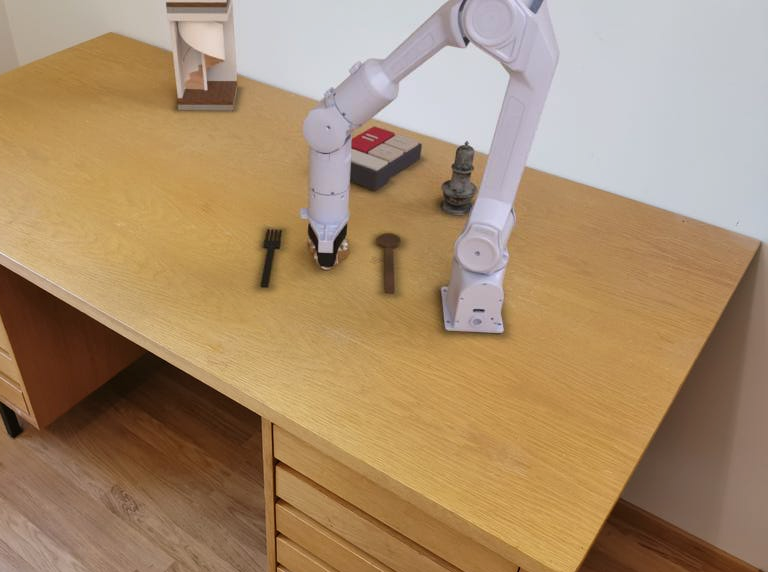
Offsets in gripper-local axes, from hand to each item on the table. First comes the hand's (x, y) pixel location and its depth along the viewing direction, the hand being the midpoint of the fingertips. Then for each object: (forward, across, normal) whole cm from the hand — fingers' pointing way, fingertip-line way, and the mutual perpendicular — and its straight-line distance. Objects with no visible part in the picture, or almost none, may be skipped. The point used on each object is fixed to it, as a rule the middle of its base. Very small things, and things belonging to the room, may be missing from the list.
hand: (326, 264), depth 112 cm
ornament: (+2, -4, 0) cm, 4 cm away
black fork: (+1, -3, -9) cm, 10 cm away
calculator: (+2, -33, +7) cm, 34 cm away
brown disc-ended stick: (+1, -3, +10) cm, 10 cm away
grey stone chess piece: (+2, -20, +21) cm, 29 cm away
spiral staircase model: (+2, -59, -28) cm, 65 cm away
